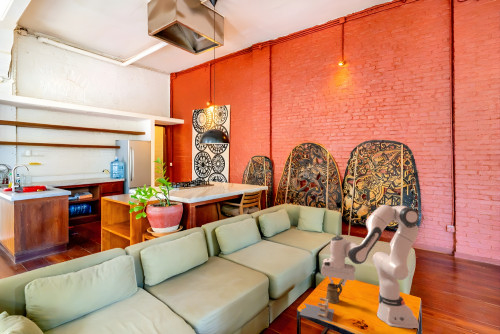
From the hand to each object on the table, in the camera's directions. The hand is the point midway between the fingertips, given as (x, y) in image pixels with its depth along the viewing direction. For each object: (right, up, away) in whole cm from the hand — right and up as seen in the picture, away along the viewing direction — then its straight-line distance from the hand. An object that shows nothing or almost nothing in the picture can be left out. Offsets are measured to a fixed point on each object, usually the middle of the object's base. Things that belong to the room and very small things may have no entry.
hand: (337, 284), depth 161 cm
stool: (-8, -21, +4) cm, 23 cm away
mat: (-12, -21, +6) cm, 25 cm away
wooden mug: (+5, -21, +19) cm, 29 cm away
